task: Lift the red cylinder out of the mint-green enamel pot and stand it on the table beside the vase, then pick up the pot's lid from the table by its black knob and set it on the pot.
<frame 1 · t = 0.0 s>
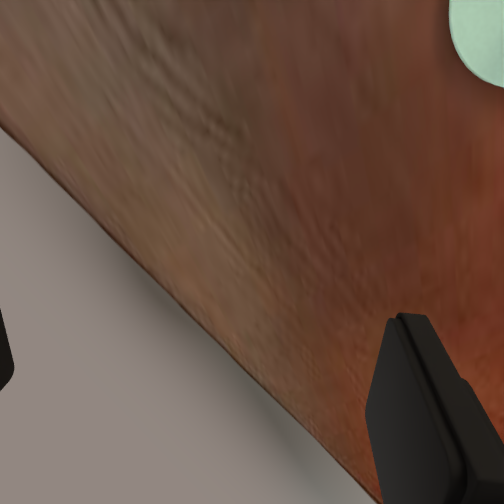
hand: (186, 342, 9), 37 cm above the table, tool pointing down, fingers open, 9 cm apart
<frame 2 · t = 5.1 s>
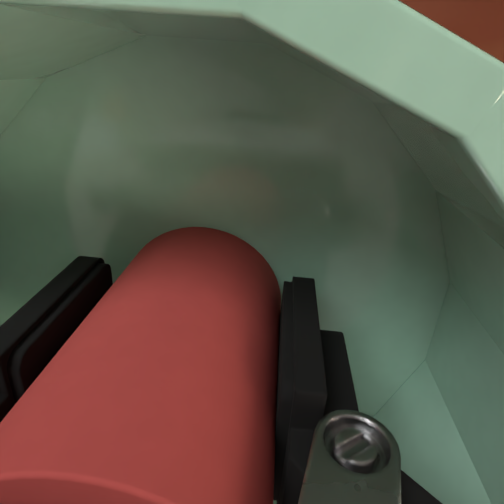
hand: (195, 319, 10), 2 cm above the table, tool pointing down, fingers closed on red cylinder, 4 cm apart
pot: (206, 289, 12), on the table
red cylinder: (203, 298, 11), point 1 cm above the table, touching gripper, pot
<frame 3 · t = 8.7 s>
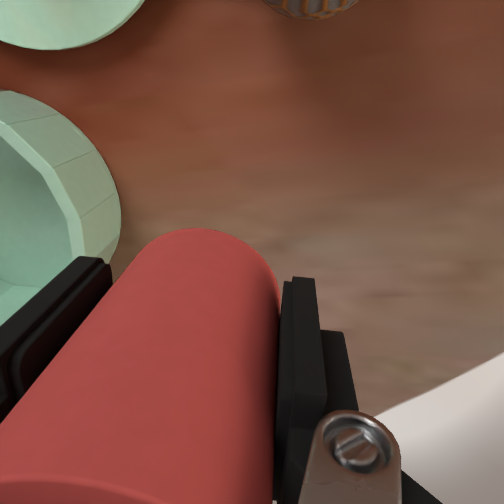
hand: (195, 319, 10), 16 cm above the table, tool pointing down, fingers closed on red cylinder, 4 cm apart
pot: (18, 201, 28), on the table
red cylinder: (203, 299, 11), point 15 cm above the table, touching gripper
when the fingers open (1 cm above the table, at t = 12.6 s): red cylinder stays where it is, on the table.
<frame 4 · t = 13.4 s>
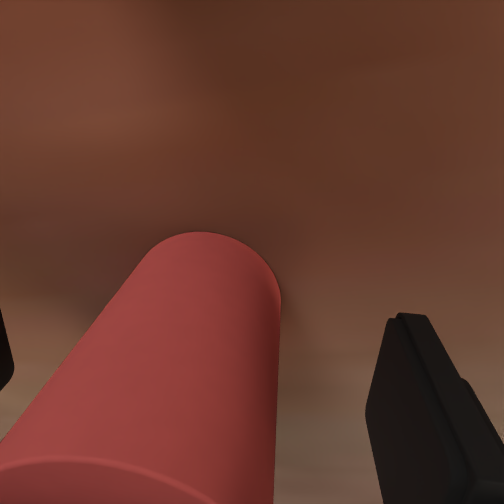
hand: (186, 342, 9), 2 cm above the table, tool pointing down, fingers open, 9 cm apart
red cylinder: (206, 299, 12), on the table
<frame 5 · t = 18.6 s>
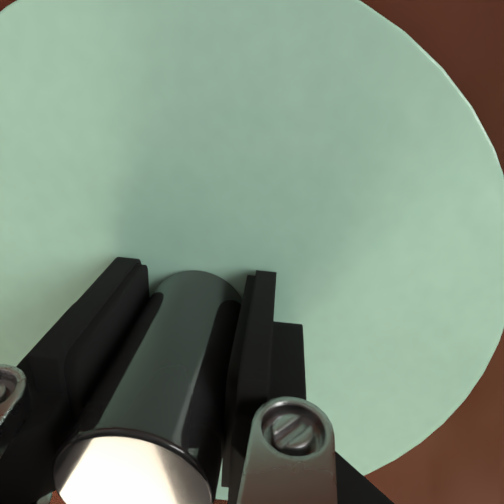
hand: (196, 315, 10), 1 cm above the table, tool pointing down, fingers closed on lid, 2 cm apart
lid: (202, 299, 11), point 1 cm above the table, touching gripper
when the fingers open (6 cm above the table, at t = 24.8 s): lid stays where it is, resting on pot.
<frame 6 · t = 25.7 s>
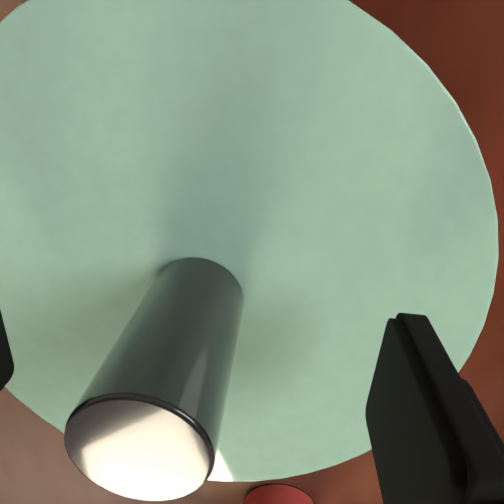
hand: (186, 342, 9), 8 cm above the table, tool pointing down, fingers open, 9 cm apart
lid: (202, 286, 12), point 5 cm above the table, touching pot
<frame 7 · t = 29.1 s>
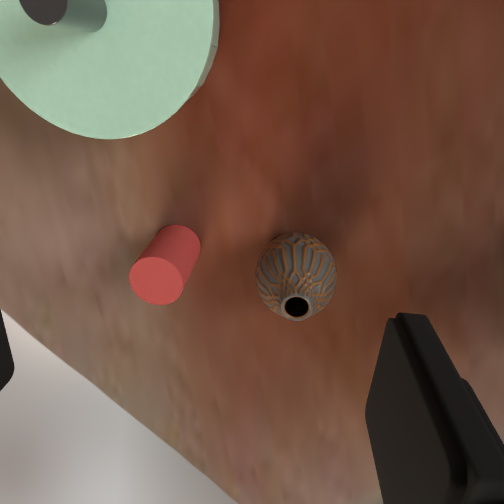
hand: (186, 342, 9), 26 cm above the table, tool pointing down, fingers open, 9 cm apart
pot: (124, 19, 30), on the table
red cylinder: (178, 245, 38), on the table
vase: (295, 255, 37), on the table
lid: (91, 10, 25), point 5 cm above the table, touching pot
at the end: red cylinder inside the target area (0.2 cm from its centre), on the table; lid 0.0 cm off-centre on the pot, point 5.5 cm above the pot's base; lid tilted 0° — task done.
